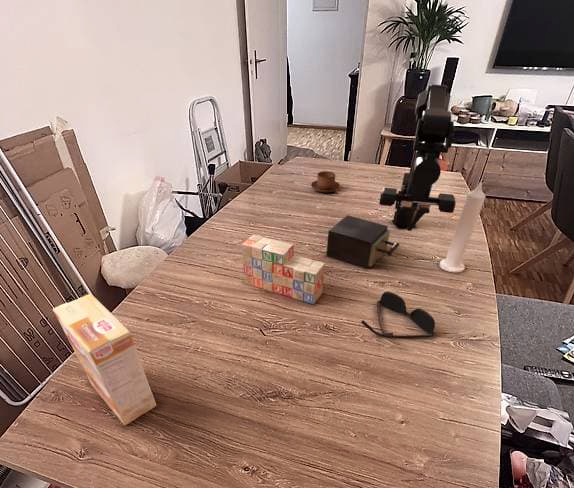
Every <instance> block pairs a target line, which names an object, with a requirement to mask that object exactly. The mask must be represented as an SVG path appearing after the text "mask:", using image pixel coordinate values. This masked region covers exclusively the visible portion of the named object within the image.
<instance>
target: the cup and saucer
mask: <svg viewBox="0 0 574 488" xmlns="http://www.w3.org/2000/svg"><path fill="white" fill-rule="evenodd" d="M316 177H317V179H316V180H314V181H312V182H311V184H310V185H311V188H312V189H313V190H315V192H319V193H333V192H336V191H338V190H339V189H340V187H341V184H340V183H339V182H338V181H336V173H335V172H332V171H325V170H324V171H319V172H317V175H316Z"/></svg>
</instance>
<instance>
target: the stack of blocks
mask: <svg viewBox="0 0 574 488" xmlns="http://www.w3.org/2000/svg"><path fill="white" fill-rule="evenodd" d="M241 256H242V257H241V258H242V264H243V265H242V266H243V278H244V279H243V280H244V284H247V285H249V286H253V287H255V288H259V289H262V290H265V291H268V292H272V293H276V294H279V295H282V296H285V297H288V298H292V299H295V300H297V301H301V302H304V303H307V304H310V305H314V304H315V303H316V302H317V300H318V299H319V298H320V297H321V295H322V294H323V290H324V289H323V287H324V276H325V267H326V263H325V262H322V261H318V260H314V259H311V258H306V257H303V256H299V255H295V254H294V244H292V243H289V242H284V241H281V240H277V239H273V238H269V237H264V236H261V235H258V234H252V235H251V236H250V237H248V238H247V239H246V240H245V241H243V242H242V243H241Z"/></svg>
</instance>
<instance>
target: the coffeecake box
mask: <svg viewBox="0 0 574 488" xmlns="http://www.w3.org/2000/svg"><path fill="white" fill-rule="evenodd" d="M52 312H53V313H54V315H55V317H56V319H57V320H58V322H59V324H60V326H61V328H62V330H63V332H64V334H65V336H66V338H67V339H68V342H69V343H70V345H71V347H72V349H73V351H74V353H75V355H76V357H77V358H78V361H79V362H80V365H81V367H82V369H83V370H84V372H85V374H86V376H87V379H88V380H89V383H90V384H91V386H92V388H93V389H94V390H95V391H96V392H97V393H98V395H99V396H100V398H102V400H103V401H104V402H105V403H106V405H107V406H108V407H109V408H110V409H111V411H112V412H113V413H114V415H115V416H116V417H117V418H118V420H119V421H120V422H121V423H122V424H123V426H127V425H128V424H130V423H132V422H133V421H135V420H136V419H137V418H139V417H141V416H142V415H144V414H145V413H147V412H149V411H150V410H152V409H155V408H156V407H157V403H156V400H155V397H154V394H153V392H152V390H151V387H150V384H149V380H148V378H147V376H146V372H145V369H144V367H143V364H142V361H141V359H140V356H139V353H138V350H137V349H136V345H135V343H134V340H133V337H132V335H131V331H129V329H127V328H126V326H124V325H123V323H122V322H120V320H118V319H117V318H116V316H115V315H114V314H112V312H110V311H109V309H107V307H106V306H104V305H103V304H102V303H101V302H100V301H99V300H98V299H97V298H96V297H95V296H94V295H93V294H92V293H89V294H86V295H84V296H81V297H79V298H77V299H74V300H72V301H69V302H64V303H63V304H60V305H57V306H56V307H53V308H52Z"/></svg>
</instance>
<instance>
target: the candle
mask: <svg viewBox="0 0 574 488" xmlns="http://www.w3.org/2000/svg"><path fill="white" fill-rule="evenodd" d="M482 185H483V182H482V181H480V182H479V183H478V184H477V186H476V188H475V189H473V190H470V191H469V192H467V194H466V197H465V199H464V203H463V205H462V209H461V213H460V215H459V218H458V221H457V224H456V227H455V230H454V233H453V236H452V239H451V242H450V245H449V247H448V251H447V253H446V254H447V255H446V257H445V258H443V259H441V260H440V261H439V267H440V268H441V269H442V270H443V271H445V272H449V273H453V274H455V273H456V274H457V273H461V272H464V270H465V268H466V267H465V264H464V263H463V260H464V258H465V254H466V251H467V249H468V247H469V244H470V240H471V238H472V236H473V233H474V230H475V228H476V224H477V221H478V219H479V216H480V214H481V210H482V208H483V205H484V202H485V200H486V194H485V193H484V192H483V190H482V189H483V187H482Z"/></svg>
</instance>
